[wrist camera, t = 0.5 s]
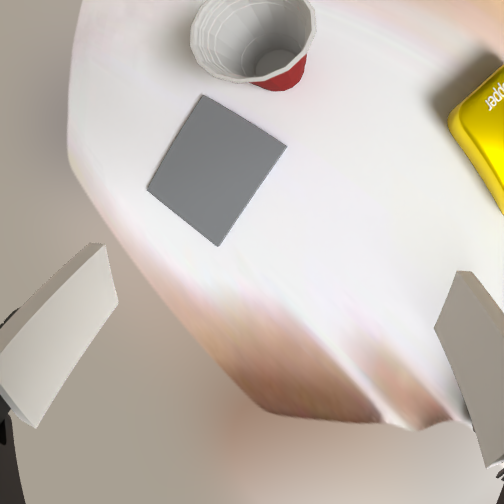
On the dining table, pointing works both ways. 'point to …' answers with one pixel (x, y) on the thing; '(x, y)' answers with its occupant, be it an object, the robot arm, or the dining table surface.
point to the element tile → (483, 132)
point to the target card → (214, 168)
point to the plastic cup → (254, 40)
